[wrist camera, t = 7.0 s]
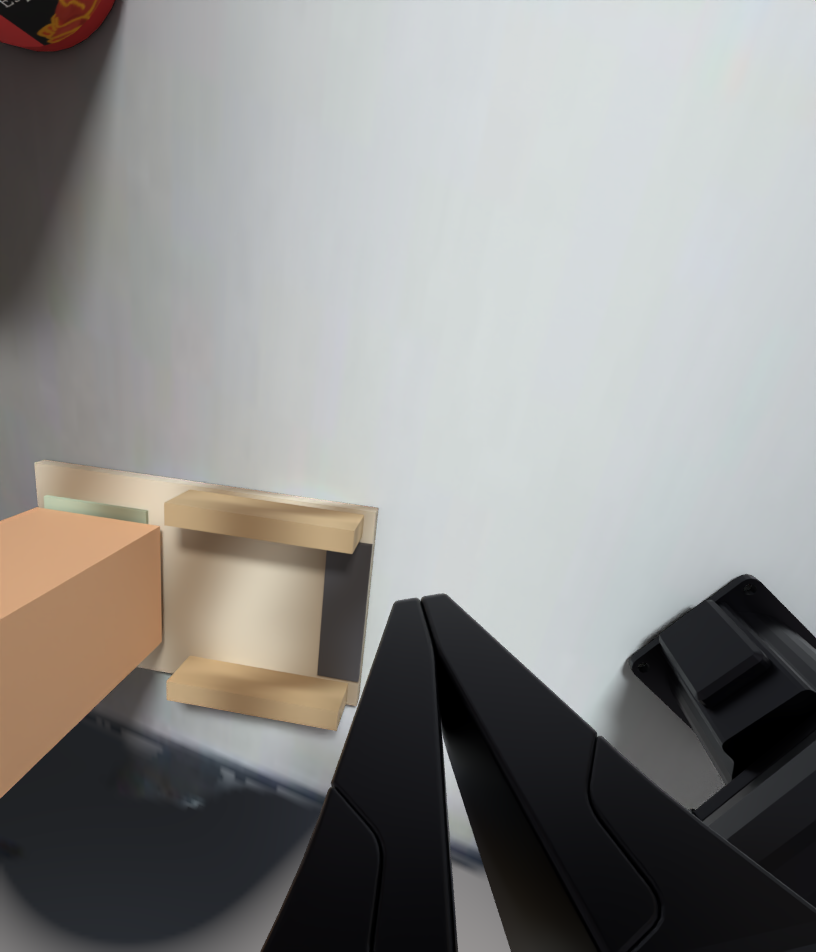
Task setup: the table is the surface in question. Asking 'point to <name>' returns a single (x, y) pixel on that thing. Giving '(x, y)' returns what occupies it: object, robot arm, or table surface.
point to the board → (244, 588)
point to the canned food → (50, 22)
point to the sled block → (69, 623)
